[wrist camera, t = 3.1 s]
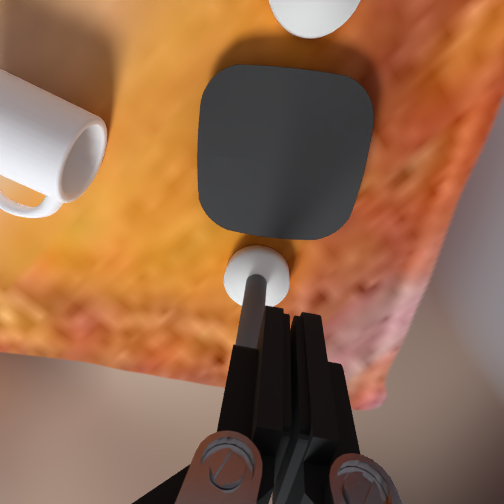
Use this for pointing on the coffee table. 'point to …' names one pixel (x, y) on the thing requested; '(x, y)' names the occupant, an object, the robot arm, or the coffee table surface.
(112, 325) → the coffee table surface
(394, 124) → the coffee table surface
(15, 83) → the mug
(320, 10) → the post
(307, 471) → the robot arm
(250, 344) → the far cord post
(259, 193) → the media streaming box
